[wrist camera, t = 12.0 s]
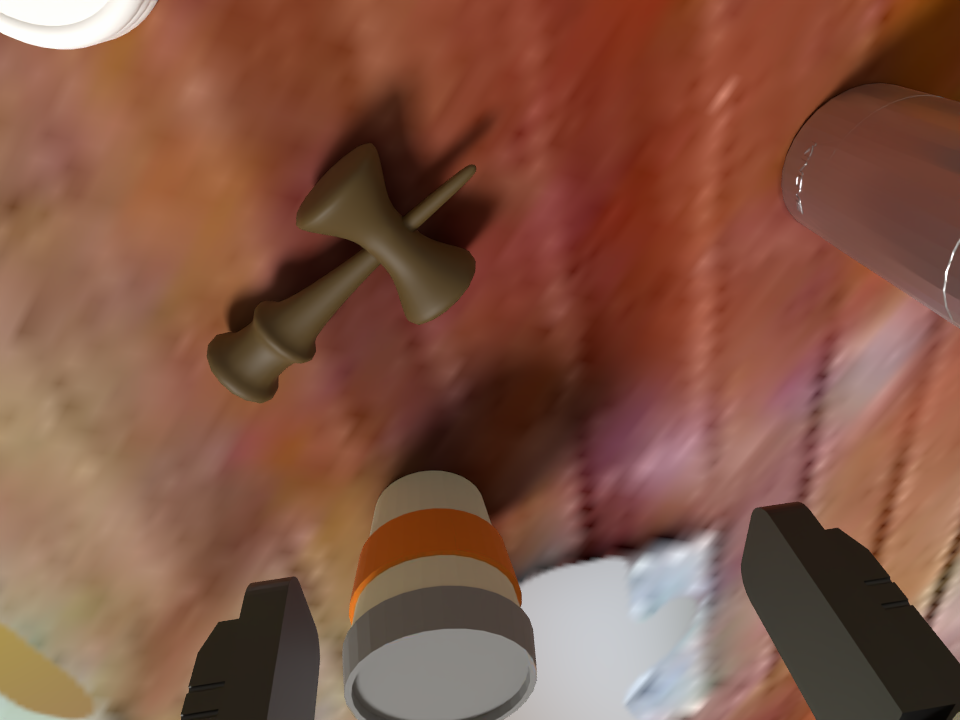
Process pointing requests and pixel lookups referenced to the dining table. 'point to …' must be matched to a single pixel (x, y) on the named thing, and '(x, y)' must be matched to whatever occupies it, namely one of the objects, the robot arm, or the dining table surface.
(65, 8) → the white round tin
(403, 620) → the reusable coffee cup
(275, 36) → the dining table surface
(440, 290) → the kendama
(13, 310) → the dining table surface
